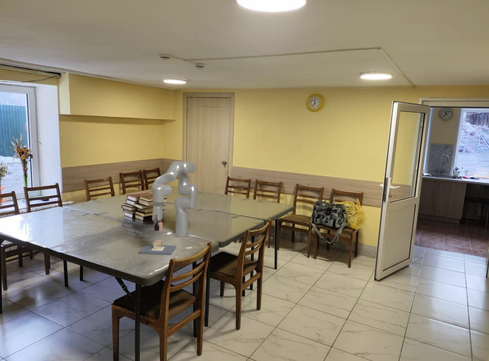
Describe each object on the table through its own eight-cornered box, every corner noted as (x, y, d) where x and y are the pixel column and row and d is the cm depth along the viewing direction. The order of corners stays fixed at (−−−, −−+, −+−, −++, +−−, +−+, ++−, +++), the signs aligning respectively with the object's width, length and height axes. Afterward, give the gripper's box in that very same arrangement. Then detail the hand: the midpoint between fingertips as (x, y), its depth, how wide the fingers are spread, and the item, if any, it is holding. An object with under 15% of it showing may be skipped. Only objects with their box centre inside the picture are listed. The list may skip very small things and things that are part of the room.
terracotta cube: (155, 228, 237) (155, 221, 236) (162, 229, 237) (162, 222, 236) (153, 230, 232) (153, 223, 231) (160, 231, 232) (160, 224, 231)
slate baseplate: (146, 246, 244) (146, 244, 244) (176, 247, 244) (176, 245, 244) (138, 253, 230) (138, 251, 229) (170, 255, 229) (170, 252, 229)
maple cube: (155, 247, 239) (155, 240, 238) (162, 247, 239) (162, 240, 238) (153, 249, 234) (153, 242, 233) (160, 249, 234) (160, 242, 233)
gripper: (156, 201, 240) (156, 226, 243) (148, 206, 224) (148, 232, 226) (166, 201, 240) (166, 226, 243) (160, 206, 223) (159, 233, 226)
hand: (157, 229), depth 234 cm, fingers closed on terracotta cube, 4 cm apart
